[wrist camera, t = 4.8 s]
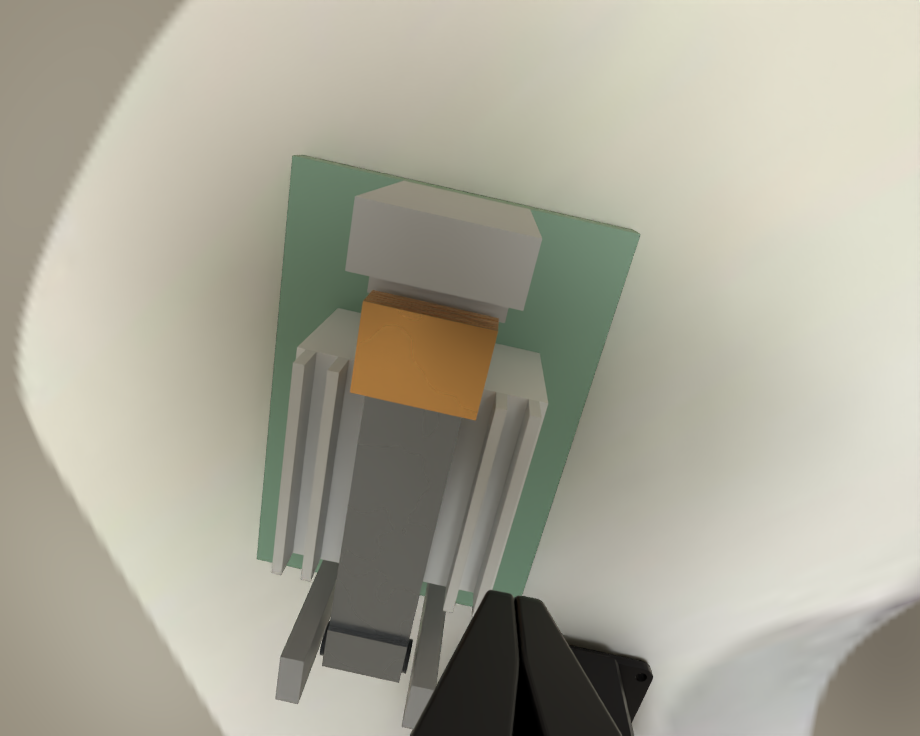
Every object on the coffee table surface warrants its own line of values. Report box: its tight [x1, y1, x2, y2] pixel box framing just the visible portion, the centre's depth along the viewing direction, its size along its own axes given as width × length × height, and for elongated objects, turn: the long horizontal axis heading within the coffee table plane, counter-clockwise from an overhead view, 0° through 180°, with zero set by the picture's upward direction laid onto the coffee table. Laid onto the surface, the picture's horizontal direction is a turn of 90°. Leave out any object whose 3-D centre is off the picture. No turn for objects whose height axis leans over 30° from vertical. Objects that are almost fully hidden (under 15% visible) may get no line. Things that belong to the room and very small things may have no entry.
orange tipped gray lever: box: [320, 290, 499, 683], centre depth 16 cm, size 12×3×1 cm, turn 168°
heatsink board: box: [257, 155, 640, 729], centre depth 18 cm, size 16×11×7 cm
